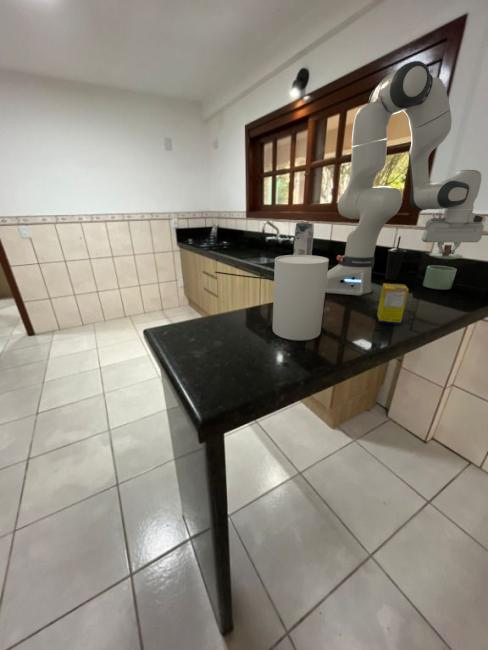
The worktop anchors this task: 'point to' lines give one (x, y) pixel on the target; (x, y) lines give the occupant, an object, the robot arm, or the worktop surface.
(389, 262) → the drinking cup
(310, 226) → the juice carton
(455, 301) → the worktop surface
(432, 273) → the pot
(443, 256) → the lid
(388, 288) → the supplement box
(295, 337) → the canister
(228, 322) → the worktop surface
